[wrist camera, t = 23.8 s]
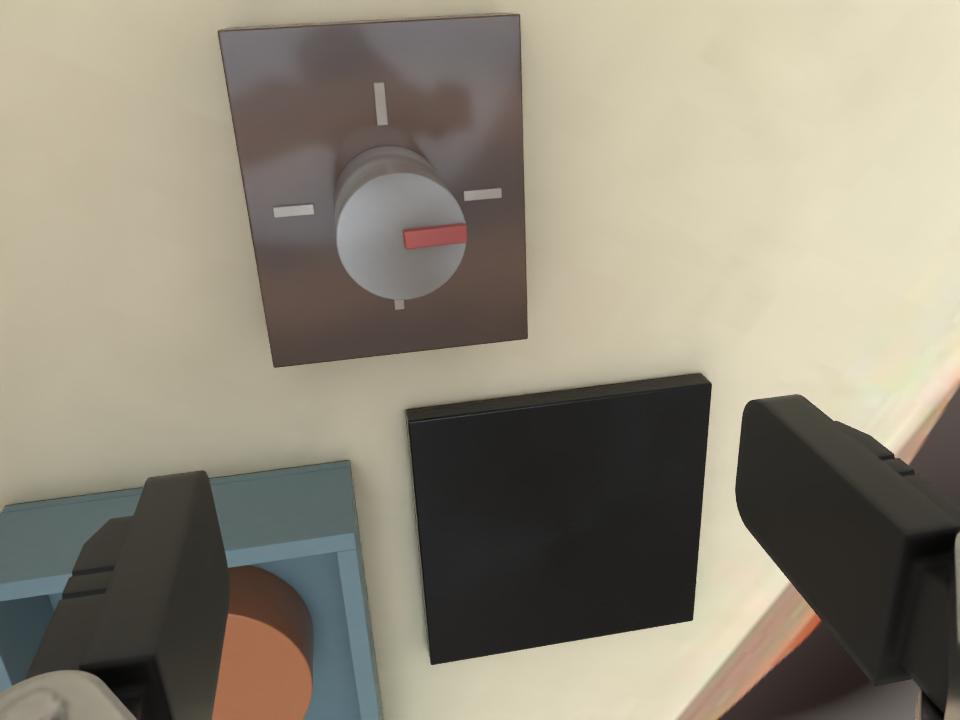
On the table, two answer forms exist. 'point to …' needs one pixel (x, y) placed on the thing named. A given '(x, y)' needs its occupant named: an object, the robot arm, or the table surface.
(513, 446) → the plate
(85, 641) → the robot arm
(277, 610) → the pan
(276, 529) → the basin
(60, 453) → the table surface
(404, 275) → the tap dial
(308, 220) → the rotary knob panel
